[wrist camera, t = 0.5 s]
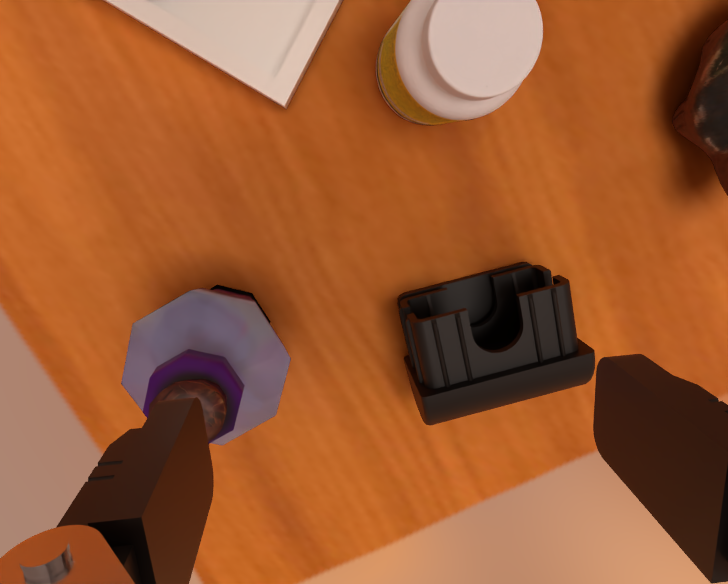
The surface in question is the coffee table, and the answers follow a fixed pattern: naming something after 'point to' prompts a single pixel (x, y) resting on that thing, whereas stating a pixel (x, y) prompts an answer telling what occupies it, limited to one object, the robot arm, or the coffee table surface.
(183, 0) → the tray
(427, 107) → the pill bottle
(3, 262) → the coffee table surface
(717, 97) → the decorative turtle
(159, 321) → the potion bottle
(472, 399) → the end cap
